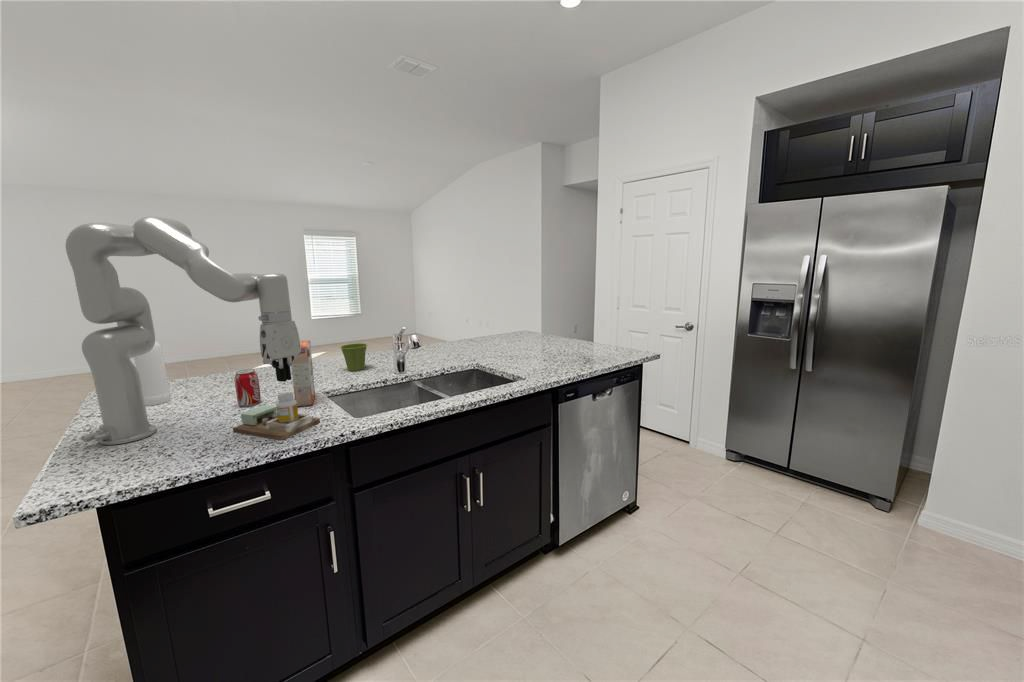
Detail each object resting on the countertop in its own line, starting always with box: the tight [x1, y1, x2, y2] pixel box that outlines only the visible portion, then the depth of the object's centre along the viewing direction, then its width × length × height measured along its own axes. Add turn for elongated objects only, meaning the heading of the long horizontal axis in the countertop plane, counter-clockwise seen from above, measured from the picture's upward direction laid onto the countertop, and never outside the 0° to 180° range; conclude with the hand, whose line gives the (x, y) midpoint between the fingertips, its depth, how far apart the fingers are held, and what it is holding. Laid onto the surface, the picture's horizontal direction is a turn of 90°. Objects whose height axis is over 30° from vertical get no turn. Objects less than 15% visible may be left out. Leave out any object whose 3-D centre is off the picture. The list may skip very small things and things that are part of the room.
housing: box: [240, 404, 277, 425], centre depth 130 cm, size 8×5×3 cm, turn 160°
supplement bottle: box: [275, 391, 299, 424], centre depth 125 cm, size 5×5×10 cm
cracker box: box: [290, 339, 316, 408], centre depth 151 cm, size 14×6×21 cm, turn 22°
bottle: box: [133, 340, 171, 407], centre depth 151 cm, size 8×8×30 cm
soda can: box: [234, 368, 262, 408], centre depth 149 cm, size 7×7×12 cm
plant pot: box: [339, 342, 368, 372], centre depth 195 cm, size 12×12×11 cm
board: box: [232, 413, 321, 441], centre depth 128 cm, size 14×19×3 cm
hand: (284, 380), depth 124 cm, fingers closed
